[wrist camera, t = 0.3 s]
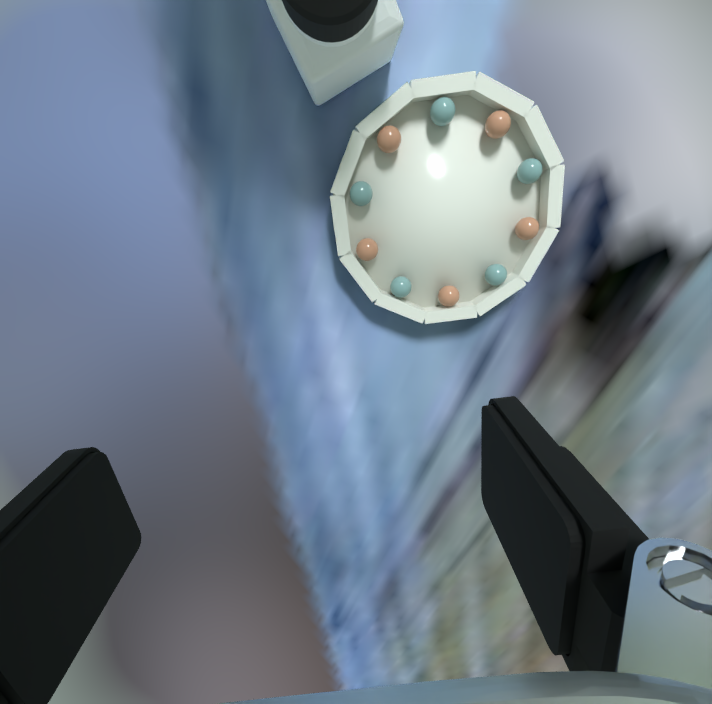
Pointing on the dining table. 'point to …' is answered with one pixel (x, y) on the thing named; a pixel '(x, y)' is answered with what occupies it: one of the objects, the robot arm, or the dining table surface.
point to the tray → (447, 197)
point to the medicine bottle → (337, 40)
